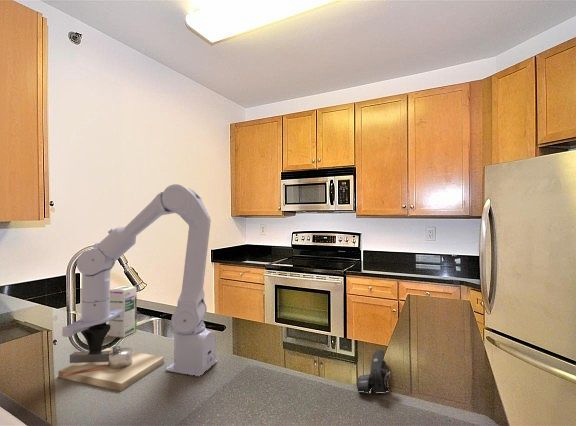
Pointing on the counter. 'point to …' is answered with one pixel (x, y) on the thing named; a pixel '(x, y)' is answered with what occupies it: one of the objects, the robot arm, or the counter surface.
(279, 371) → the counter surface
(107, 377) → the cutting board
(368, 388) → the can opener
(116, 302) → the syrup box
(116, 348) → the grey bar with knob
